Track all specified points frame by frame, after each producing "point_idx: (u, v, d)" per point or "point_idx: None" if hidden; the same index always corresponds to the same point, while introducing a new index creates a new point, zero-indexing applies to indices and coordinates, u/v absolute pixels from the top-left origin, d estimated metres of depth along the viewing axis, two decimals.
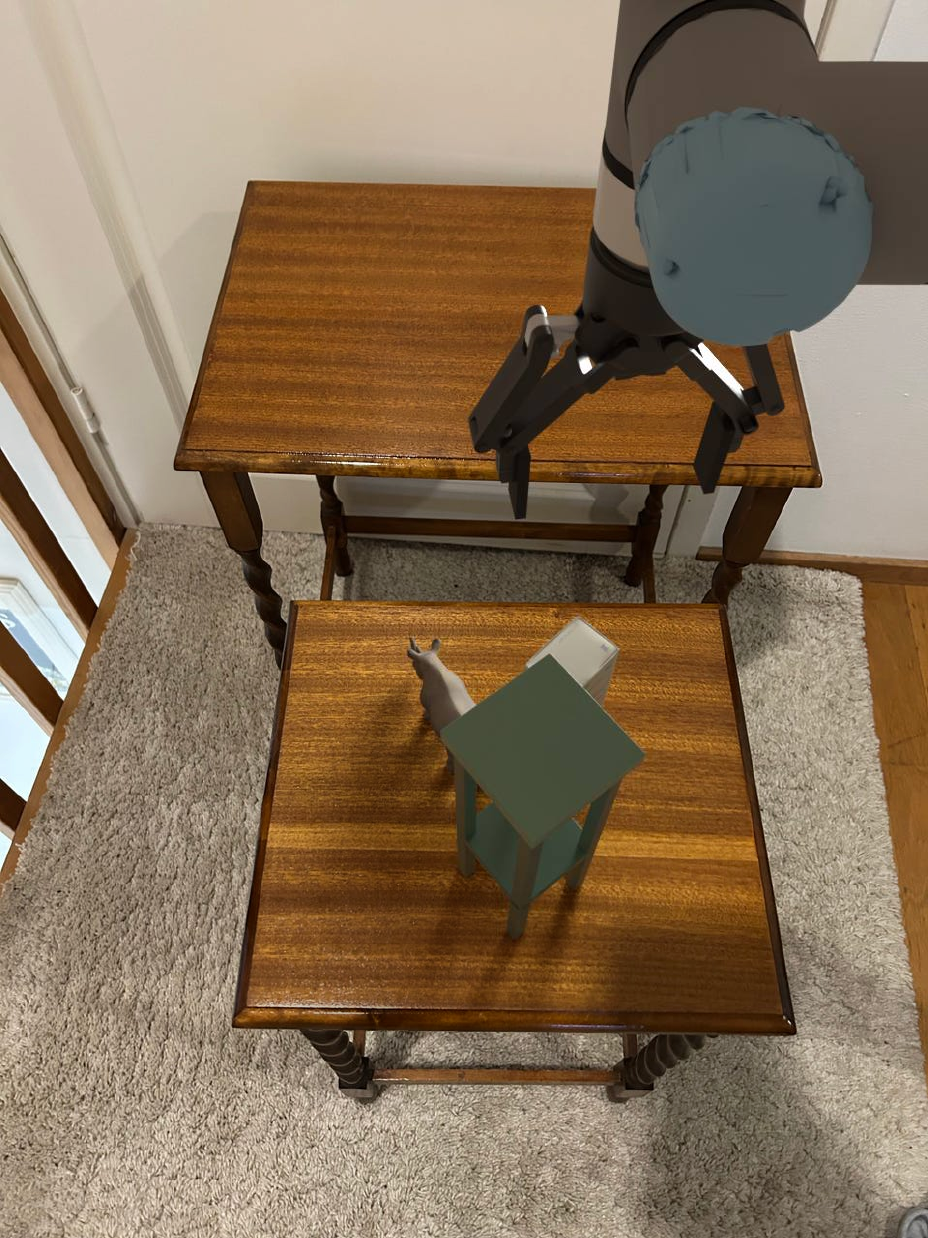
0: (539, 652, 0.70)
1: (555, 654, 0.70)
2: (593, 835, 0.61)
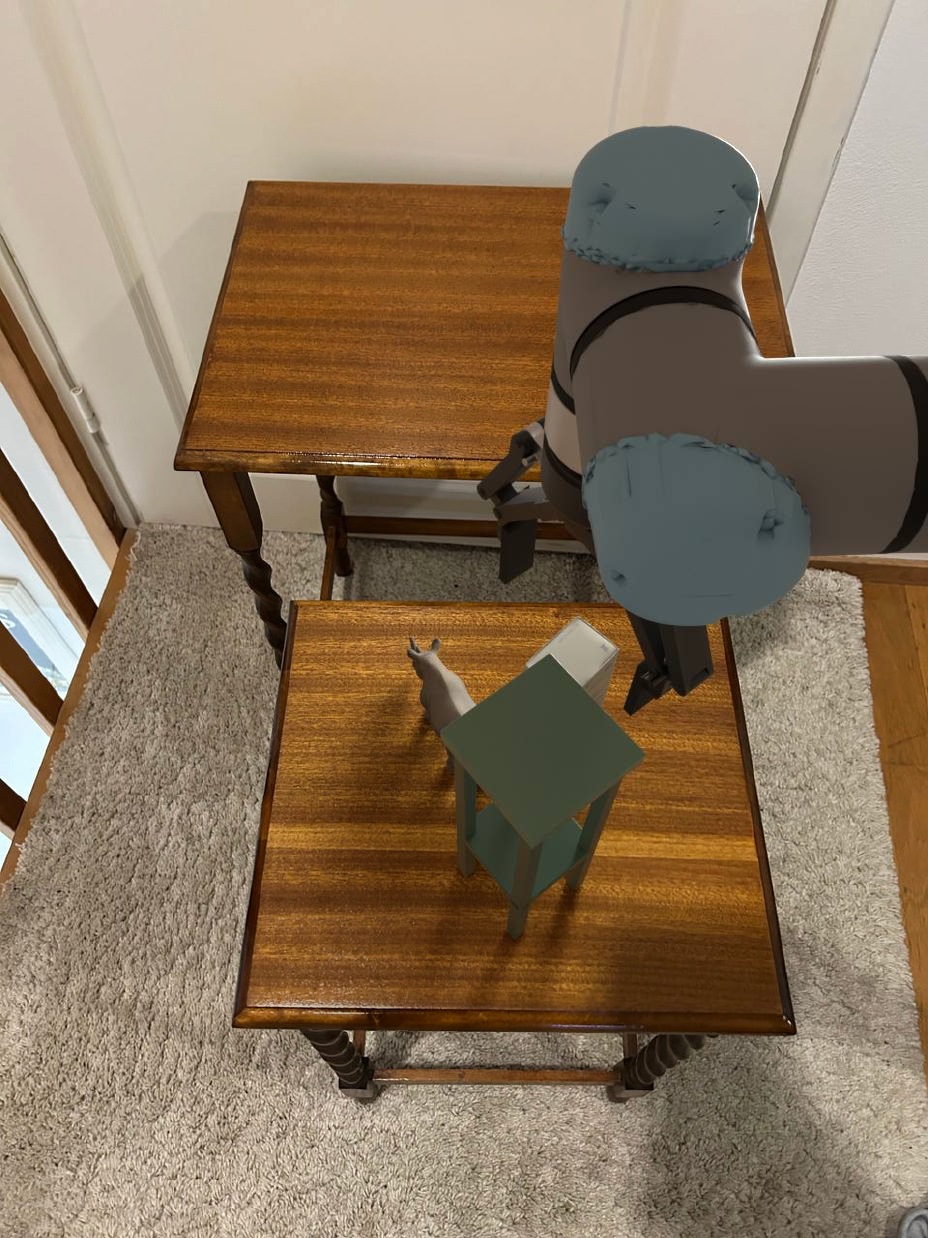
0: (539, 652, 0.70)
1: (555, 654, 0.70)
2: (593, 835, 0.61)
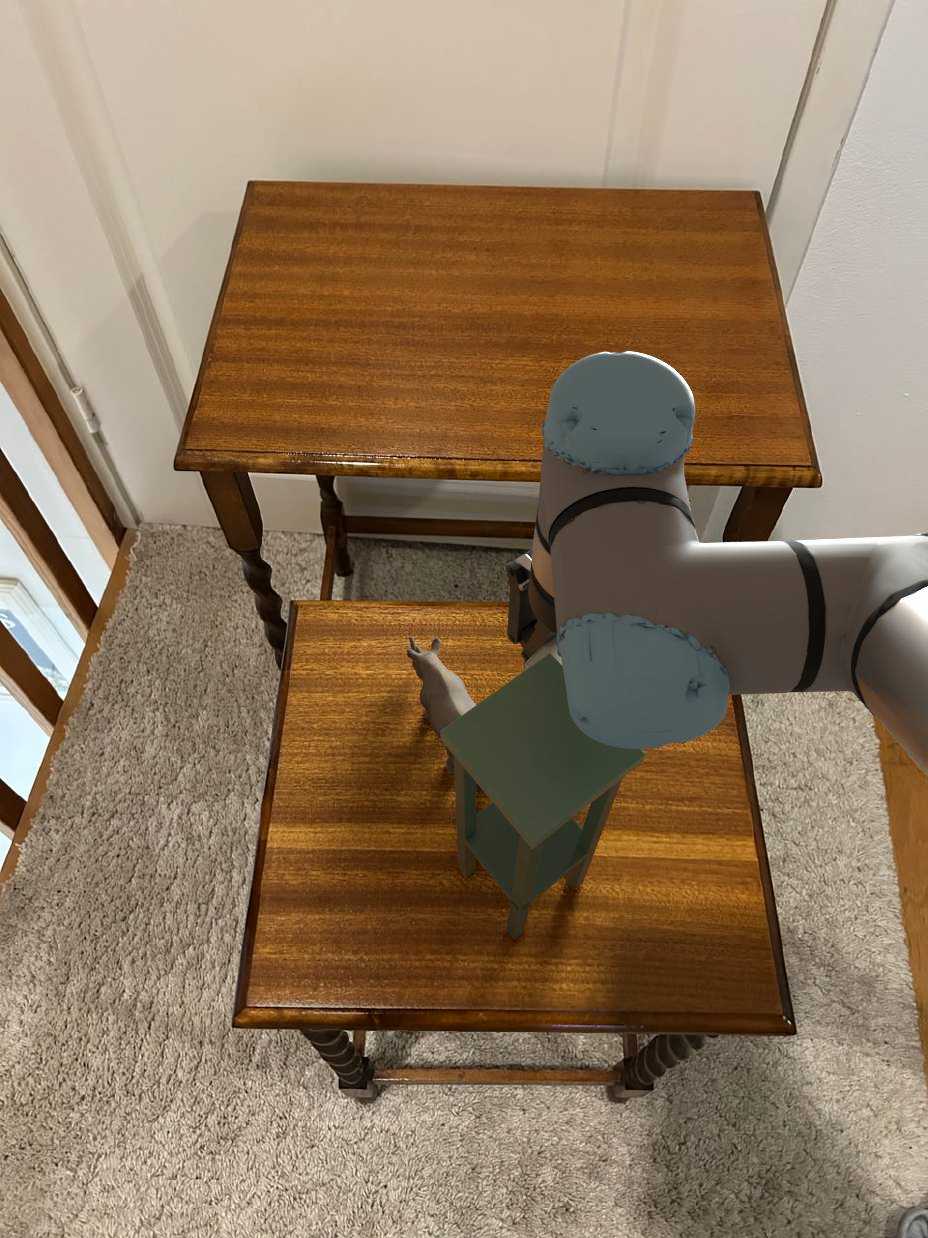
0: (539, 652, 0.70)
1: (555, 654, 0.70)
2: (593, 835, 0.61)
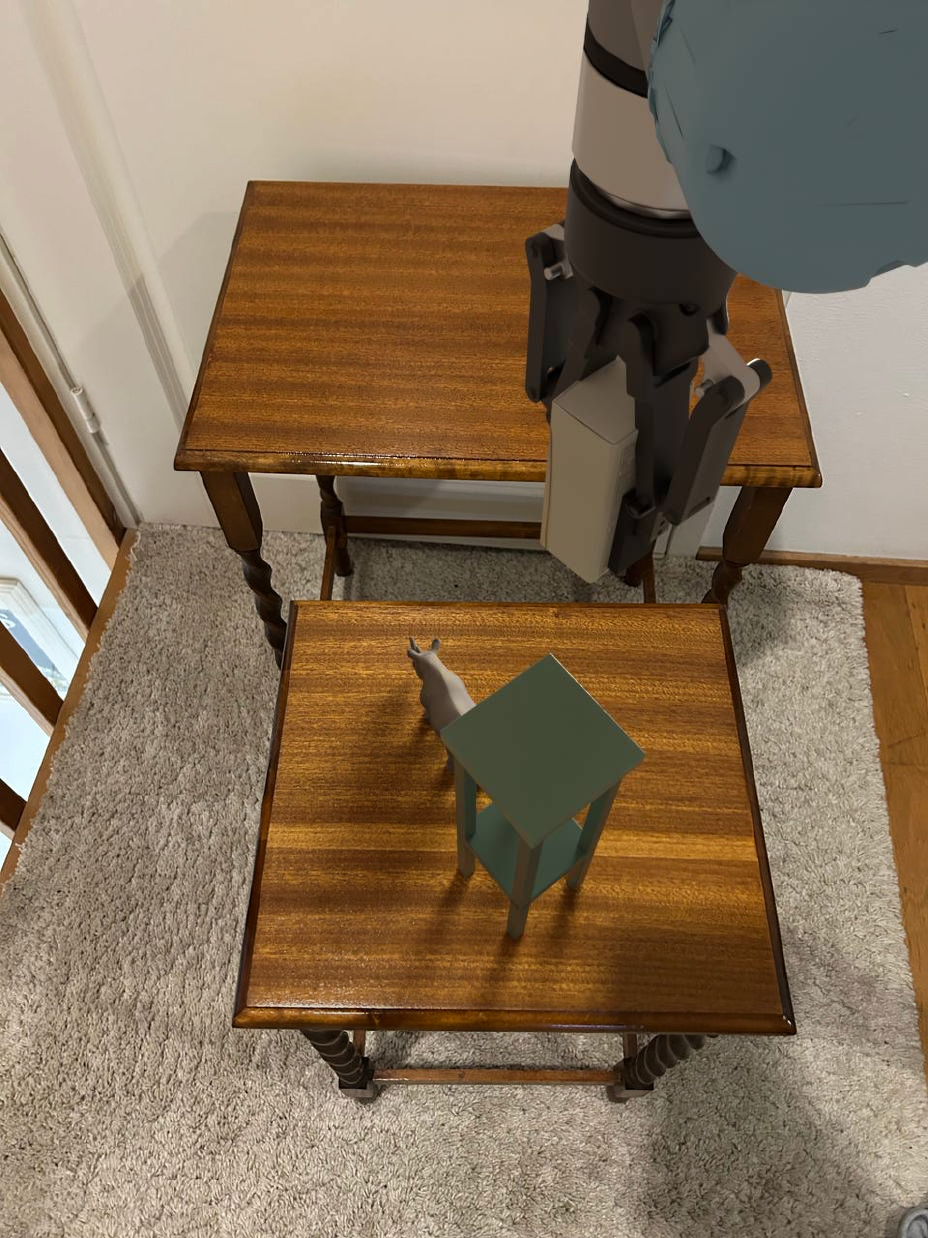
0: (573, 387, 0.46)
1: (598, 388, 0.46)
2: (593, 835, 0.61)
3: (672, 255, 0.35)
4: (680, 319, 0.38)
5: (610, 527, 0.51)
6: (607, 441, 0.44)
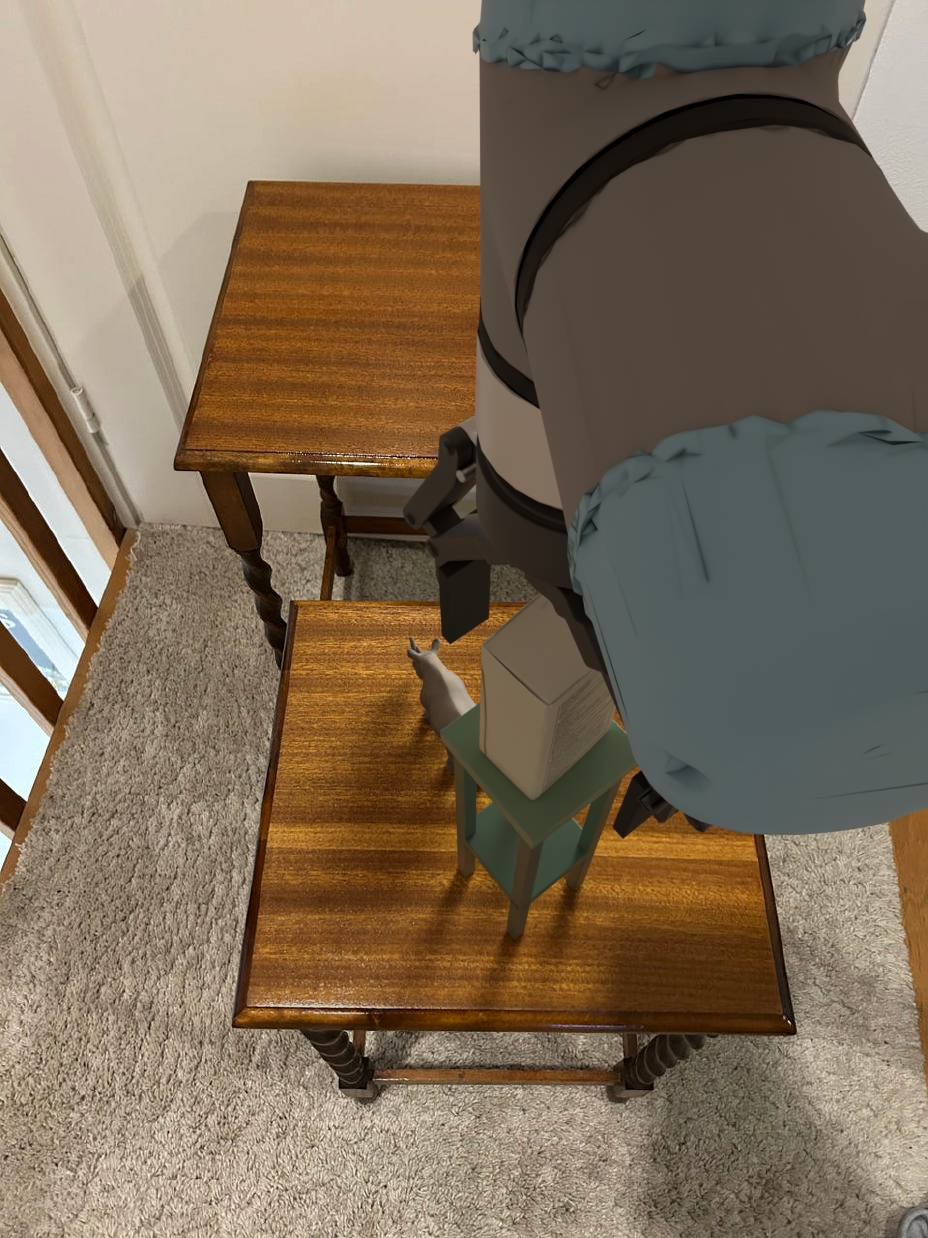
0: (506, 626, 0.41)
1: (534, 629, 0.41)
2: (593, 835, 0.61)
3: None
4: None
5: (551, 758, 0.45)
6: (542, 700, 0.39)
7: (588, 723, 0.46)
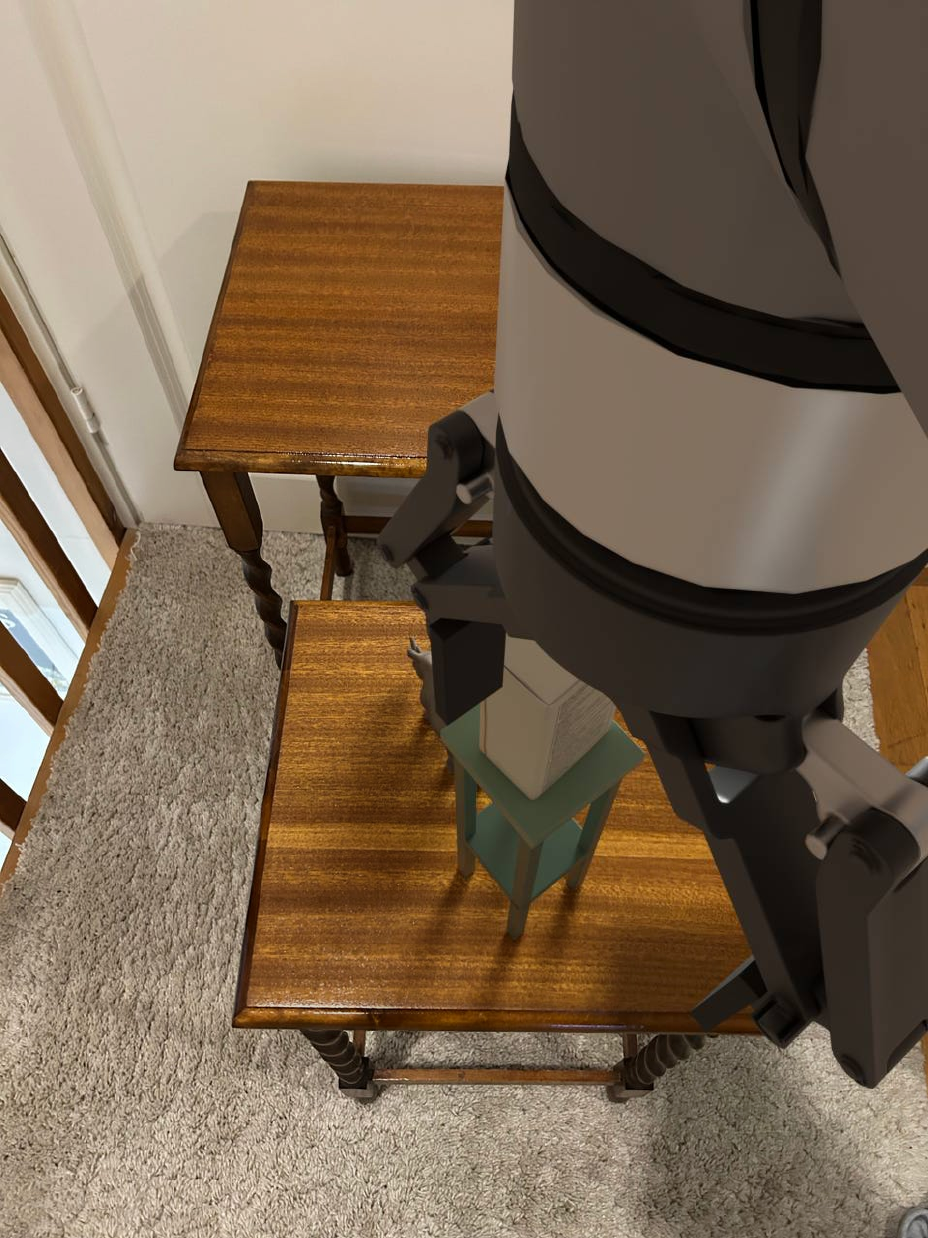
0: None
1: None
2: (593, 835, 0.61)
3: (740, 660, 0.14)
4: (743, 719, 0.18)
5: (551, 758, 0.45)
6: (542, 701, 0.39)
7: (588, 723, 0.46)
